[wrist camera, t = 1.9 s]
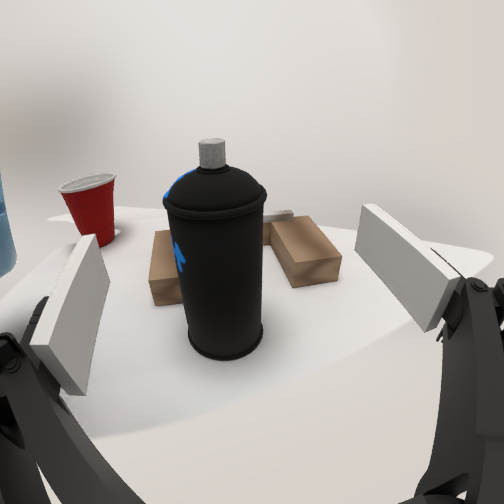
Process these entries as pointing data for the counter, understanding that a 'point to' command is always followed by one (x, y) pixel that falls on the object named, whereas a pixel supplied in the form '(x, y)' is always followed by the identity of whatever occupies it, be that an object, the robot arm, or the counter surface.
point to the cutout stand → (274, 233)
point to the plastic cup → (92, 205)
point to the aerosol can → (218, 253)
